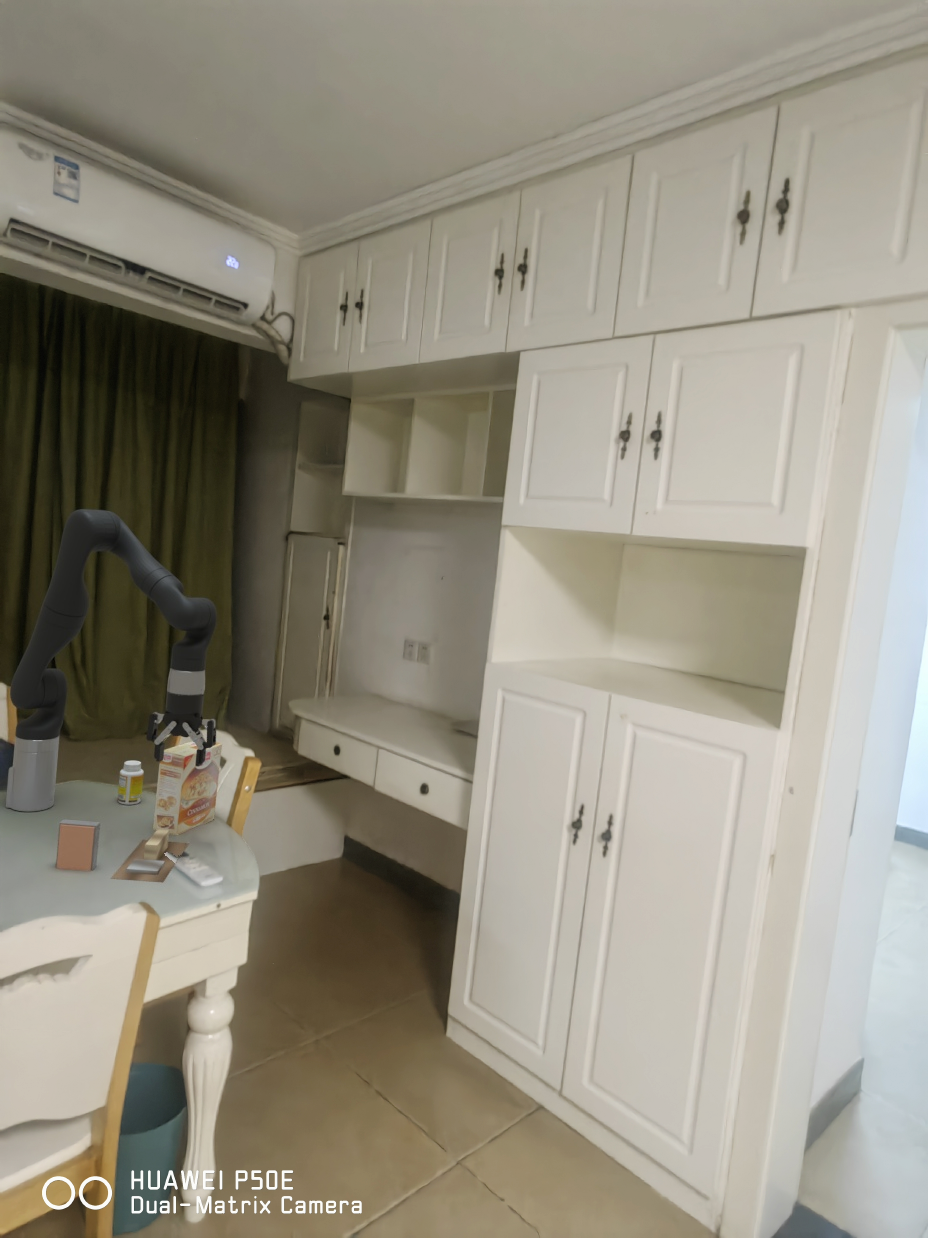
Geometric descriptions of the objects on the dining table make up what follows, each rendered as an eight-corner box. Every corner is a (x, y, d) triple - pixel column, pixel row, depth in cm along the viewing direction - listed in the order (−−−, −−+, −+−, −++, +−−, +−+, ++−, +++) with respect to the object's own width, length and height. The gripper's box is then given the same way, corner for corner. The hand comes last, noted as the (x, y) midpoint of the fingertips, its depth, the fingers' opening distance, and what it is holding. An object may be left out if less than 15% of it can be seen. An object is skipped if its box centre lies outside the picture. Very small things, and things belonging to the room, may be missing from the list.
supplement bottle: (144, 799, 194) (147, 760, 193) (136, 806, 188) (140, 766, 187) (121, 797, 193) (125, 758, 192) (113, 804, 188) (117, 764, 187)
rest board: (110, 882, 147) (110, 878, 147) (142, 843, 167) (142, 839, 167) (162, 886, 148) (162, 882, 148) (188, 846, 168) (189, 843, 168)
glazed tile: (54, 872, 149) (58, 823, 148) (59, 867, 151) (63, 819, 150) (91, 875, 149) (95, 826, 149) (95, 870, 152) (100, 822, 151)
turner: (157, 875, 151) (158, 856, 151) (126, 872, 150) (128, 853, 150) (176, 847, 165) (177, 830, 165) (148, 845, 164) (149, 828, 164)
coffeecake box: (177, 839, 172) (185, 756, 170) (150, 832, 173) (158, 750, 172) (215, 819, 186) (223, 743, 184) (191, 813, 188) (198, 737, 186)
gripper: (145, 688, 158) (139, 764, 159) (212, 696, 158) (205, 772, 159) (160, 683, 165) (154, 755, 166) (224, 690, 165) (217, 762, 166)
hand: (179, 763), depth 162 cm, fingers open, 8 cm apart
